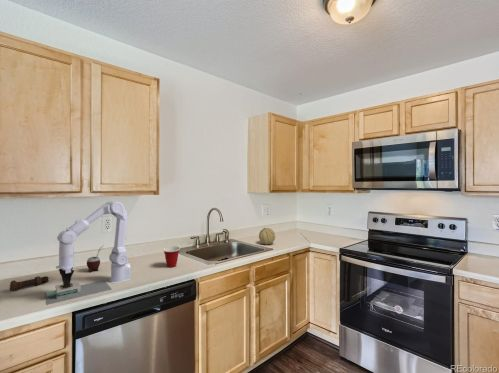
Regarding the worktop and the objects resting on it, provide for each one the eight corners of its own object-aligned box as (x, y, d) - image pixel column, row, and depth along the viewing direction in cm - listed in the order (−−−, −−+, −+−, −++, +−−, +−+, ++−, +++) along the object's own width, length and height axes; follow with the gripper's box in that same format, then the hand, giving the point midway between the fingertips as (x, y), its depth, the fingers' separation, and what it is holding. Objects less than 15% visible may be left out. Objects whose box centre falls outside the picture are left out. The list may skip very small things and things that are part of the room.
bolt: (48, 286, 139) (11, 295, 127) (45, 279, 142) (8, 287, 129) (50, 277, 138) (13, 286, 125) (47, 271, 140) (11, 278, 128)
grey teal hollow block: (78, 288, 131) (78, 281, 131) (80, 293, 125) (80, 285, 125) (46, 295, 122) (46, 287, 122) (47, 301, 116) (47, 292, 116)
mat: (104, 281, 142) (104, 280, 142) (111, 290, 130) (111, 289, 130) (44, 293, 125) (44, 292, 125) (46, 306, 113) (46, 304, 113)
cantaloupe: (278, 245, 230) (278, 228, 230) (265, 247, 222) (265, 229, 222) (268, 241, 242) (268, 225, 242) (255, 243, 234) (255, 227, 234)
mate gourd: (83, 272, 155) (84, 247, 155) (93, 268, 163) (93, 244, 163) (95, 273, 154) (95, 248, 154) (104, 268, 162) (104, 245, 162)
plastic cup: (160, 269, 163) (160, 250, 163) (165, 263, 174) (165, 245, 173) (177, 269, 163) (178, 250, 163) (181, 263, 174) (181, 246, 174)
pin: (69, 288, 126) (70, 268, 126) (70, 290, 124) (71, 269, 124) (62, 290, 124) (62, 269, 124) (62, 292, 122) (63, 270, 122)
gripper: (54, 254, 127) (54, 281, 127) (57, 261, 116) (57, 291, 116) (72, 251, 132) (72, 278, 132) (76, 258, 121) (76, 287, 121)
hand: (66, 284), depth 124 cm, fingers closed on pin, 3 cm apart
